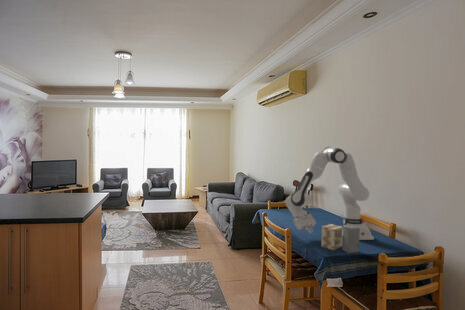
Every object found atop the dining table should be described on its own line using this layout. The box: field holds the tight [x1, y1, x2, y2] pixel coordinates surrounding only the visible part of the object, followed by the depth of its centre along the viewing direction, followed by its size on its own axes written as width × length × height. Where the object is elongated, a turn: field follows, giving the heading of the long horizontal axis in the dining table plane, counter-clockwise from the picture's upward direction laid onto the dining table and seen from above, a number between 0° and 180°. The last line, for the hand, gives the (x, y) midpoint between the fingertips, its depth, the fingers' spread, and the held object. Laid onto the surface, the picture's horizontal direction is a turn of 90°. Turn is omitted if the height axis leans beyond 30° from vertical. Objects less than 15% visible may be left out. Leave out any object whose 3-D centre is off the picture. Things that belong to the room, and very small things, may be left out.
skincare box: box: [341, 225, 360, 254], centre depth 195 cm, size 8×7×16 cm
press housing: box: [320, 223, 343, 251], centre depth 203 cm, size 9×11×14 cm
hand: (311, 232), depth 214 cm, fingers closed
